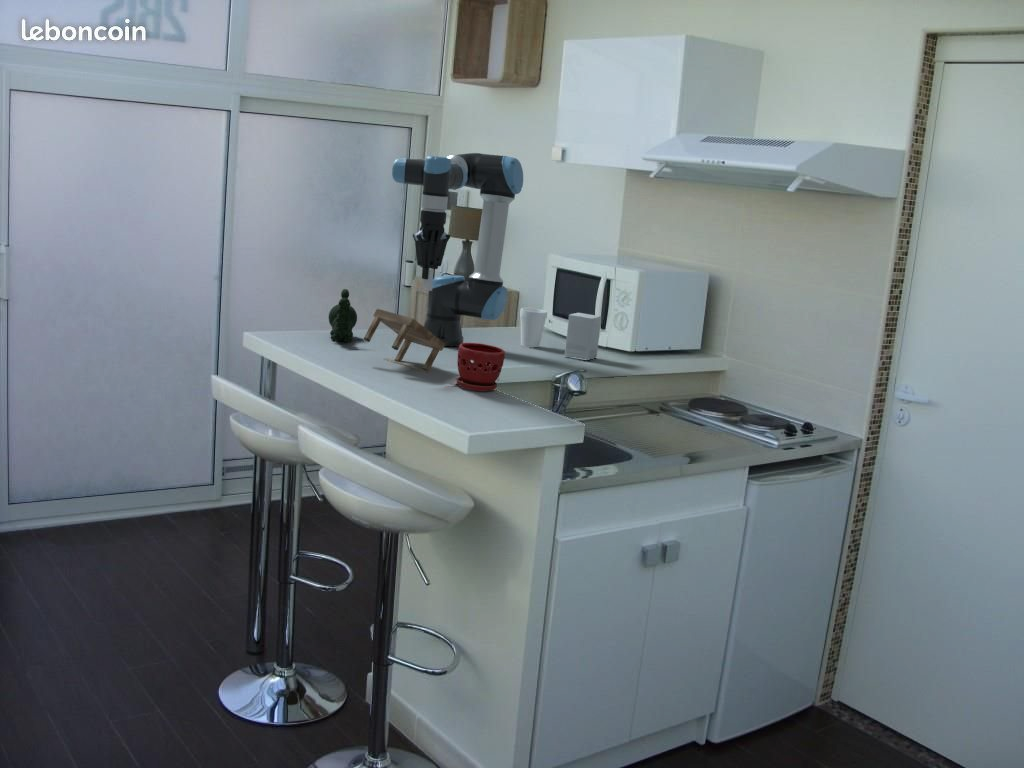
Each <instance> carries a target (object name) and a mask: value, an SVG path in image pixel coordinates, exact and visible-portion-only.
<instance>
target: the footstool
mask: <svg viewBox="0 0 1024 768" xmlns="http://www.w3.org/2000/svg"><path fill="white" fill-rule="evenodd" d="M373 317H374V318H373V320H372V322H371V324H370V326H369V328H368V330H367V331H366V333H365V335H364V337H363V340H364V341H366V342H368V343H370V342H371V340H372V339H373V336H374V335H375V332H376V330H377V329H378V327H379V325H380V323H382V324H384V325H385V326H386V327H388V328H389V329H390V330H392V331H393V332H394V333H396V335H397V336H396V338H395V340H394V342H393V343H392V345H391V348H392V349H393V350H395V351H398V350H399V351H398V352H397V355H396V357H395V359H393V360H394V361H397V362H402V361H403V359H404V357H405V355H406V353H407V351H408V350H409V348H410V347H411V346H410V345H411V344H412V343H414V344H417V345H419V346H420V345H421V346H424V347H427V348H431V351H430V354H429V355H428V357H427V359H426V362H425V363H424V365H423V367H422V369H423V370H426V371H430V370H431V367H432V366H433V363H434V362H435V360H436V358H437V356H438V355H439V352H440V351H441V352H442V351H443V350H444V347H446V346H445V343H444V342H443V341H441V340H440V339H439V338H437V337H436V336H435V335H434V334H432V333H431V332H430V331H429V330H427V329H426V328H425V327H423V326H424V325H422V324H421V323H420V322H418V321H417V320H416V319H414V318H413V317H409V316H407V315H402V314H399V313H394V312H391V311H388V310H383V309H380V308H377V309H376V310H375V311H374V313H373ZM401 344H402V345H401ZM399 348H400V349H399Z"/></svg>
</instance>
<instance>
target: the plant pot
mask: <svg viewBox="0 0 1024 768" xmlns="http://www.w3.org/2000/svg"><path fill="white" fill-rule="evenodd" d="M505 355H506V352H505V350H504V349H503V348H500V347H497V346H495V345H490V344H484V343H477V342H463V343H462V344H460V345H459V346H458V351H457V362H456V363H457V370H458V374H459V377H457V378H456V383H457V385H458V386H459V387H460V388H463V389H465V390H469V391H473V392H491V391H493V390H495V389H496V388H497V387H498V383H497V380H498V379H499V377H500V375H501V372H502V370H503V366H504V361H505V357H506V356H505ZM471 361H472V362H471Z"/></svg>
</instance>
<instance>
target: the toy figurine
mask: <svg viewBox="0 0 1024 768" xmlns="http://www.w3.org/2000/svg"><path fill="white" fill-rule="evenodd" d="M340 297H341V298H340V299H339V301H338V303H337V304H336V305H334V306H333V307H332V308H331V309H330V311H329V312H328V322H329V325H330V326H331V330H330V332H329V334H330V339H331V341H332V342H335V341H345V342H348V343H350V342H352V341H353V337H354V333H353V328H355V326H356V325H357V322H358V314H357V312H356V310H355V308H354V307H353V306H352V305H351V301H350V299H349V297H350V291H349V289H346V288H343V289H342V290H341V293H340Z"/></svg>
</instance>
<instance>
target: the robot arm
mask: <svg viewBox="0 0 1024 768" xmlns="http://www.w3.org/2000/svg"><path fill="white" fill-rule="evenodd" d="M391 174H392V179H393V181H395V182H396V183H399V184H403V185H412V186H414V185H415V186H421V187H422V195H421V206H420V207H421V210H420V216H419V217H420V219H419V222H420V224H421V225H420V227H419V231H418V232H416V233H415V232H413V234H412V238H413V240H414V244H415V256H416V264H417V266H419V267H420V268H422V269H421V271H422V272H421V279H422V287H421V288H422V289H421V290H423V291H427V292H428V293H427V294H428V296H427V307H426V317H425V320H424V324H423V325H422V326H423V327H425V328H426V329H427V330H429V331H430V332H431V333H432V334H434V335H435V336H436V337H437V338H439V339H440V340H441V341H443V342H444V343H445V346H444V347H446V346H450V348H452V347H453V346H457V347H459V345H460V344H462V343H464V339H465V338H464V336H463V331H462V325H461V317H464V316H465V317H470V318H474V319H475V318H476V319H481V320H482V321H483V320H484V321H485V320H488V321H489V320H490V321H494V320H497V319H499V318H500V317H501V315H502V314H503V313H504V311H505V308H506V305H507V302H508V295H509V294H508V288H506V287H505V286H504V280H503V278H502V277H501V275H500V274H501V268H502V267H501V266H502V261H503V259H502V258H503V252H504V245H505V244H504V243H505V237H506V231H507V230H506V229H507V223H508V217H509V215H508V214H509V207H510V204H511V203H512V202H513V201H514V200H515V197H516V195H518V194H520V193H521V191H522V189H523V185H524V171H523V166H522V164H521V162H520V160H519V159H517V158H516V157H513V156H507V155H499V154H496V155H495V154H486V153H478V152H470V153H461V154H460V153H459V154H452V155H449V156H448V155H447V157H446V156H440V155H439V156H437V155H428V156H426V157H425V158H414V159H413V158H407V157H405V158H404V157H397V158H396V159H395V160H394V162H393V164H392V168H391ZM463 187H466V188H471V189H477V190H479V196H480V197H481V199H482V200H483V202H482V211H481V215H480V216H481V219H480V225H479V234H478V238H477V239H478V242H477V249H476V255H475V262H474V270H473V273H471V274H470V275H468V281H467V280H466V277H465V276H464V275H436V270H438V269H439V267H441V266H442V264H443V260H444V255H445V252H446V249H447V244H448V242H449V240H450V238H451V235H450V234H448V233H446V231H445V226H444V225H446V223H447V212H446V211H447V209H448V201H449V190H452V191H455V190H459V189H462V188H463ZM435 275H436V276H435Z"/></svg>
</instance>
